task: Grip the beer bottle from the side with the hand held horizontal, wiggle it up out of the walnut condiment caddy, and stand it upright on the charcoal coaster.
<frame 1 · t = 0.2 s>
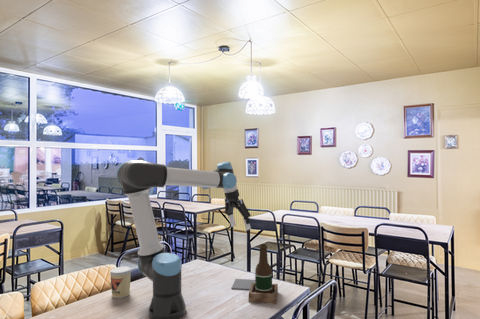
hand: (240, 227, 171), 27 cm above the table, tool tilted 15°, fingers open, 13 cm apart
beer bottle: (263, 297, 146), resting in caddy
coffee cup: (120, 295, 150), on the table
caddy: (263, 297, 146), on the table
coaster: (245, 284, 160), on the table
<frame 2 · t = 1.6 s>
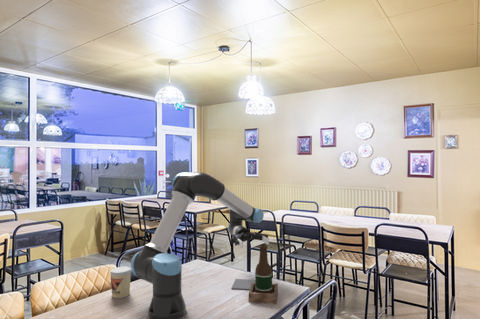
hand: (255, 243, 155), 23 cm above the table, tool horizontal, fingers open, 13 cm apart
nothing on the table moved.
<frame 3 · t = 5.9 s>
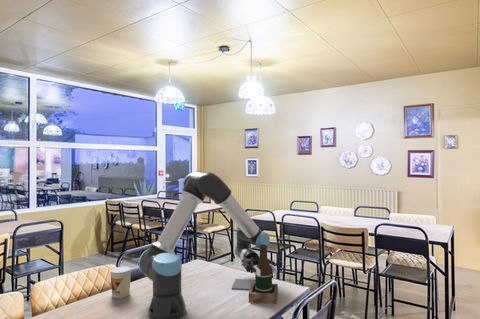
hand: (267, 272, 141), 13 cm above the table, tool horizontal, fingers closed on beer bottle, 7 cm apart
beer bottle: (263, 297, 146), resting in caddy, touching gripper
everything else where it was.
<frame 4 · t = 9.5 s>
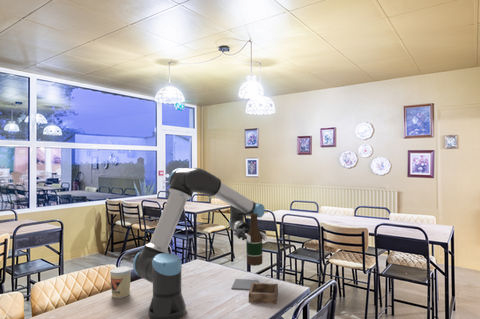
hand: (257, 238, 149), 26 cm above the table, tool horizontal, fingers closed on beer bottle, 7 cm apart
beer bottle: (254, 263, 153), point 13 cm above the table, touching gripper
everything else where it was.
when the fingers open (15 cm above the table, at t = 13.1 s): beer bottle drops 1 cm, resting on coaster.
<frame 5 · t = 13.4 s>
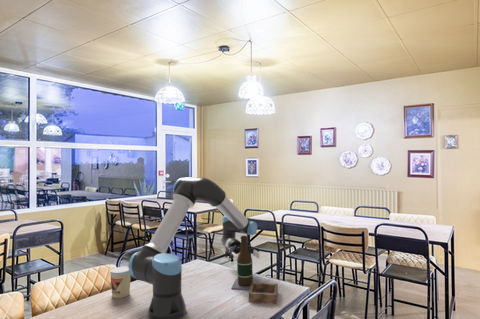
hand: (247, 257, 157), 15 cm above the table, tool horizontal, fingers open, 11 cm apart
beer bottle: (245, 284, 160), resting on coaster
everything else where it was.
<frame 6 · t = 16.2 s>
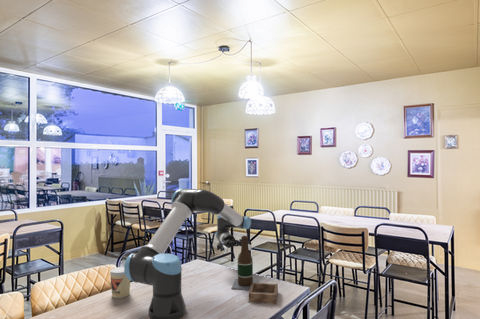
hand: (238, 249, 169), 15 cm above the table, tool horizontal, fingers open, 13 cm apart
nothing on the table moved.
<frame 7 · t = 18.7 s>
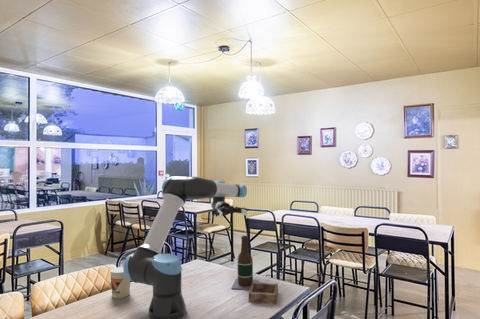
hand: (234, 213, 167), 35 cm above the table, tool horizontal, fingers open, 13 cm apart
nothing on the table moved.
at the end: beer bottle inside the target area on the coaster (0.0 cm from its centre), point 0.4 cm above the coaster's base; beer bottle tilted 0°; the gripper is holding nothing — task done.
